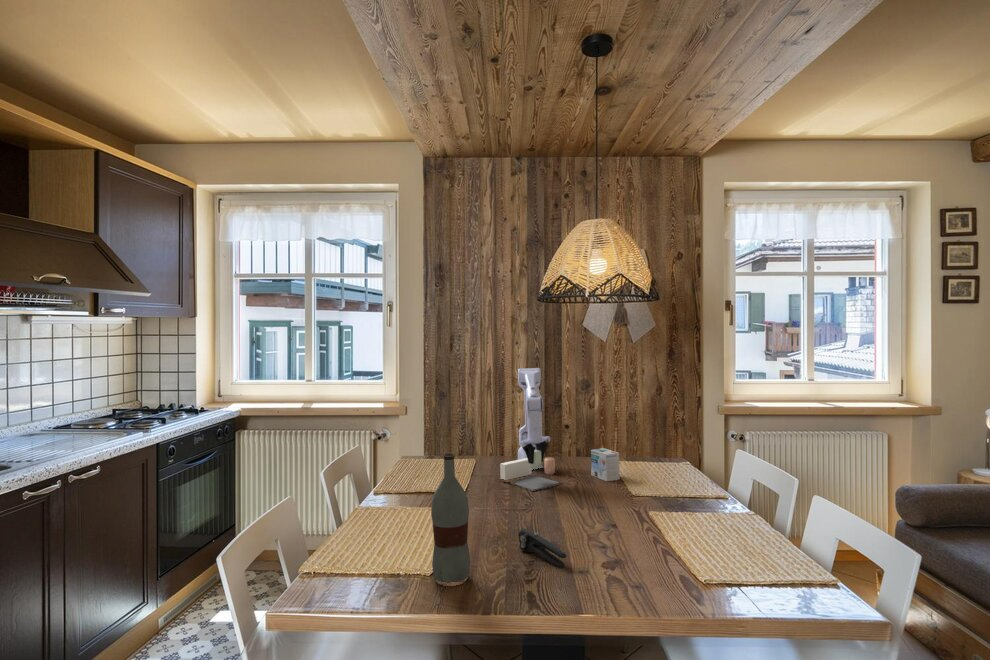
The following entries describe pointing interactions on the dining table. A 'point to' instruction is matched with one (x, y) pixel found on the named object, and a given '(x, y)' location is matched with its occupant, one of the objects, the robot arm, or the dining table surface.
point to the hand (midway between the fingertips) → (535, 462)
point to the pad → (536, 483)
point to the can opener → (540, 547)
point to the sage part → (536, 460)
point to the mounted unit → (515, 469)
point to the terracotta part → (549, 465)
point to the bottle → (450, 527)
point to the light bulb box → (605, 464)
